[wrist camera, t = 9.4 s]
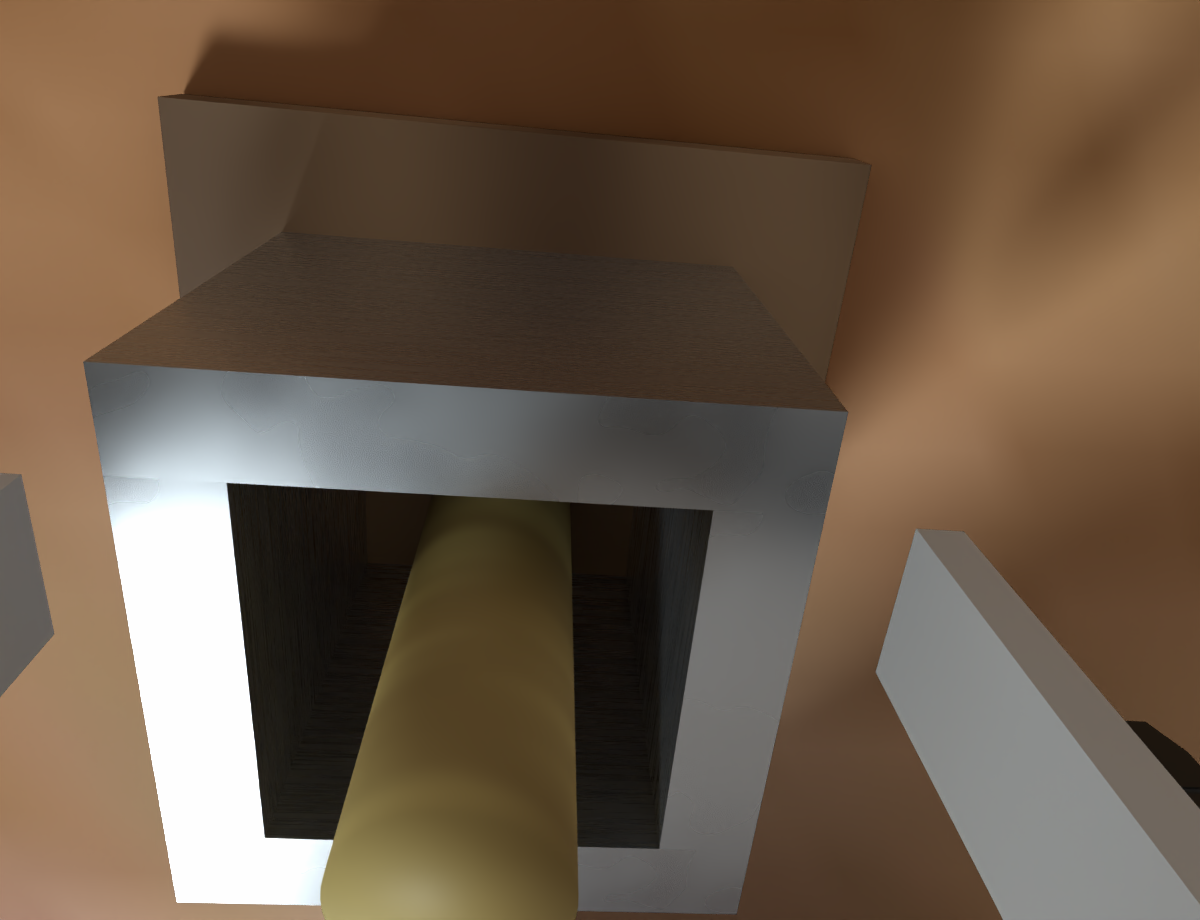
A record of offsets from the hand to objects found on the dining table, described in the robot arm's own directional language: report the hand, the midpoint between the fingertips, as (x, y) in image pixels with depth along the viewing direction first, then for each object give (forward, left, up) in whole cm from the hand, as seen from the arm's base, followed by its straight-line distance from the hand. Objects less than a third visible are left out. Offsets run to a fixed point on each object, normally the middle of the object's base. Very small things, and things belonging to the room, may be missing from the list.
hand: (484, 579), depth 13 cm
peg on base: (0, 0, -5) cm, 5 cm away
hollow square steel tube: (0, 0, -4) cm, 4 cm away
